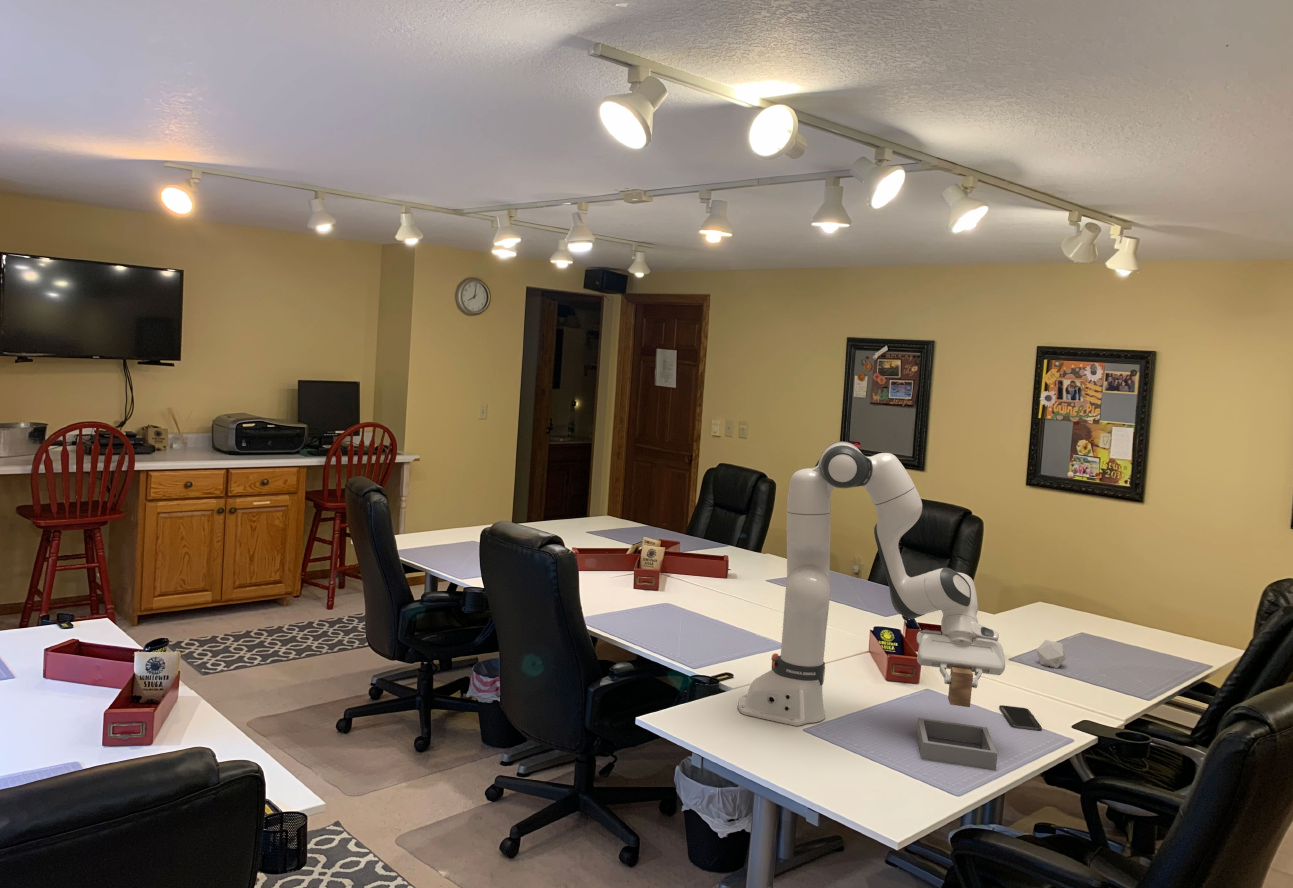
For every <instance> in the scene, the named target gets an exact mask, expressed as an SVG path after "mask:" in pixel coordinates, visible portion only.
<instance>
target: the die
mask: <svg viewBox="0 0 1293 888" xmlns="http://www.w3.org/2000/svg"><path fill="white" fill-rule="evenodd" d="M1036 655H1037V657H1038V661H1039V664H1040V665H1041V666H1045V667H1049V666H1050V668H1054V669H1058V668H1059V667H1060V666H1061V665H1062V664H1063V663H1064V661H1066V660H1067V656H1066V653H1065V649H1064V645H1063V643H1062V642H1056V641H1054V640H1053V641H1052V640H1049V639H1048V640H1047V639H1045V640H1044V641H1043V642H1042V643H1041V644H1039V646H1038V647H1037V648H1036Z"/></svg>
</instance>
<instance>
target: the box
mask: <svg viewBox="0 0 1293 888" xmlns="http://www.w3.org/2000/svg"><path fill="white" fill-rule="evenodd" d="M916 737H917V741H918V746H919V752H920V756H921V757H920V758H921V760H927V761H931V762H932V761H933V762H939V763H947V764H952V765H958V766H959V765H960V766H967V767H973V768H979V769H986V770H992V771H996V770H997V761H998V751H997V749H996V745H994V741H993V739H992V737H991V734H990V732H989V729H988V727H986V726H980V725H972V724H966V723H959V722H958V723H957V722H951V721H944V720H936V719H930V718H923V717H917V726H916ZM928 737H929V738H936V739H942V738H943V740H949V741H950V740H951V741H955V742H963V743H970V744H976V745H980V746H981V748H977V747H969V746H964V745H963V746H961V745H956V744H949V743H942V742H935V741H930V740H928Z"/></svg>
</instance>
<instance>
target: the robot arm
mask: <svg viewBox="0 0 1293 888" xmlns="http://www.w3.org/2000/svg"><path fill="white" fill-rule="evenodd" d="M856 487H857V488H858V487H863V488H864V489H865V490H866V492H867V493H868V495H869V497H870V499H871V501H872V503H873V506H874V508H875V510H876V515H877V517H876V518H877V522H876V524H875V525H874V527H873V532H874V533H873V534H874V538H875V539H874V540H875V544H876V547H877V551H878V554H879V557H880V560H881V564H882V568H883V570H884V574H885V578H886V580H887V584H888V589H889V595H890V601H891V605H892V607H893V609H894V611H896V612H897V613H898V614H899V615H901V616H902V617H904V618H905V619H909V620H914V619H917V618H919V617H922V616H925V615H926V614H929V613H935V612H937V611H938V612H939V611H941V612H942V617H941V626H940V628H941V630H929V629H923V630H920V631H918V632H917V633H916V643H917V644H918V649H917V650H918V651H917V654H916V655H917V658H916V661H917V663H918V664H919V665H920V666H925V667H931V668H939V672H940V674H941V676H942V677H943V679H944V682H943V683H944V684H945V685H949V684H950V685H951V683H952V679H951V678H952V675H950V674H949V673H948V672H947V669H948V670H951V666H953V667H961V668H969V669H971V671H972V673H974V676H975V677H973V682H972V689H977V688H978V683H979V682H978V681H979V679H980V678H981V677H982V674H985V675H994V676H1001V675H1003V673H1004V672H1005V669H1006V658H1005V653H1004V648H1003V646H1002V644H1001V643H1000V642H999V632H998V631H997V630H995V629H993V628H990V627H987V626H985V625H983V624H980V623H979V620H978V617H977V614H978V612H979V611H978V610H979V605H978V604H979V603H978V593H977V589H976V586H975V583H974V580H973V579H972V577H971V576H969V575H968V574H966V573H963V572H958V571H955V570H953V569H951V568H949V567H942V568H937V569H933V570H932V571H927V572H925V573H921V574H919V575H915V576H912V577H911V576H909V575H908V574H907V572H906V568H905V566H904V563H903V559H902V554H901V553H900V552H901V551H900V548H899V542H900V540H901V538H902V537H903V536H904V535H905V534H906V533H907V532H908V531H909V530H910V529H911V528H912V527H914V525H916V523H917V522H918V520H919V519H920V517H921V515H922V511H923V502H922V498H921V496H920V493H919V492H918V489H917V487H916V486H915V483H914V481H913V480H912V478H911V476H910V474H909V473H908V471H907V469H906V468H905V467H904V465H903V464H902V462H901V461H900V460H899V458H898V457H897V456H896V455H894V454H893V453H890V452H881V453H877V454H874V455H871V456H866V455H865V454H863V453H862V451H861V450H860V449H859V448H858V447H857V446H856V445H854V444H853V443H851V442H849V441H836V442H833V443H831V444H829V445H828V446H827V447H826V448H825V449H824V451H823V452H822V454H821V455H820V456H819V459H818V460H817V463H815V465H814V467H810V468H808V467H807V468H801V469H798V470H797V471H796V472H795V471H794V473H792V475H791V477H790V481H789V485H788V492H787V500H786V502H787V503H786V585H785V594H784V595H785V597H784V608H783V619H782V620H783V622H782V636H781V647H780V655H779V653H772V654H771V669H770V670H769V671H767V672H765V673H763V674H761V675H760V676H757V677H756V678H755V679H754V680H752V682H751V684H750V685H749V688H748V691H747V693H746V694H744V695H743V696H741V697H740V698H739V700H738V704H737V710H738V712H740V713H741V714H742V715H745V716H749V717H754V718H759V719H763V720H768V721H773V722H777V723H782V724H785V725H790V726H797V727H798V726H802V725H805V724H811V723H812V724H813V723H818V722H820V721H821V722H822V721H824V719H825V718H826V712H825V706H824V699H823V696H824V695H823V685H824V682H825V674H826V663H825V661H824V660H825V659H824V658H825V647H826V637H827V626H828V620H829V619H828V618H829V610H830V609H829V608H830V600H831V599H830V598H831V584H830V582H831V579H830V574H831V573H830V571H831V570H830V568H831V565H830V563H831V558H830V557H831V512H832V511H831V505H832V504H831V502H832V495H833V492H834V490H835V489H836V488H838V489H850V488H851V489H852V488H856Z"/></svg>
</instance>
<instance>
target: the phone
mask: <svg viewBox="0 0 1293 888" xmlns="http://www.w3.org/2000/svg"><path fill="white" fill-rule="evenodd" d="M998 710H999V711H1000V713H1001V715H1002V716H1003V718H1004V719H1005V721H1006V722H1007V723H1008V725H1009V726H1010V727H1011V728H1012V729H1019V730H1028V731H1036V732H1042V730H1043V727H1042V725H1041V724H1040V722H1039V721H1038V720H1037V719H1036V717H1035V715H1033V713H1032V712H1031V711H1030V709H1028V708H1026V707H1020V706H1011V705H1001V704H1000V705H999V706H998Z"/></svg>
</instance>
